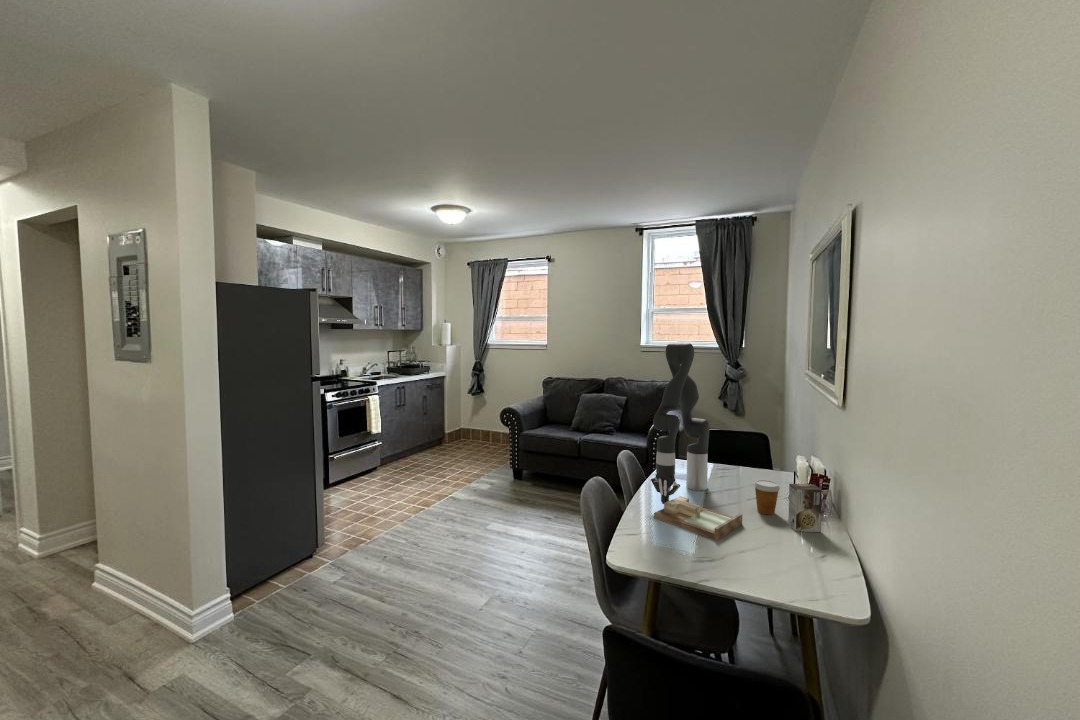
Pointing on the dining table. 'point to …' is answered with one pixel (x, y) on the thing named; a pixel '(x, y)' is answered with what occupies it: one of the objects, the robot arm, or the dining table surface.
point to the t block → (681, 507)
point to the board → (703, 522)
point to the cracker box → (805, 507)
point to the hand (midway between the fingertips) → (664, 503)
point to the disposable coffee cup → (766, 496)
